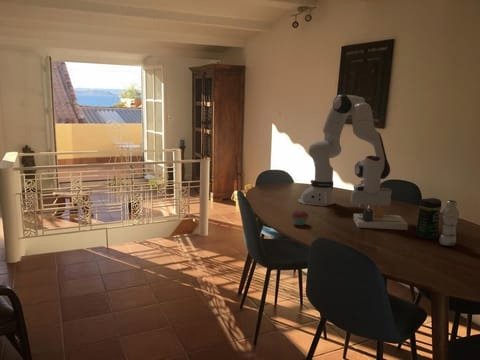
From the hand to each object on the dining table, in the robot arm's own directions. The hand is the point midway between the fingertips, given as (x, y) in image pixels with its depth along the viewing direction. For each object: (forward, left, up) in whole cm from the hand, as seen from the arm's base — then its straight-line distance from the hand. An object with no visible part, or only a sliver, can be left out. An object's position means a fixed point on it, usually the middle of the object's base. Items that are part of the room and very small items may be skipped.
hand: (369, 212), depth 210 cm
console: (+4, -4, -5) cm, 8 cm away
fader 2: (+4, 0, -1) cm, 5 cm away
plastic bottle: (+27, -33, -5) cm, 43 cm away
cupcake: (-37, -12, -5) cm, 39 cm away
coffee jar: (+22, -22, -5) cm, 32 cm away
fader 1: (-3, -9, -1) cm, 9 cm away
